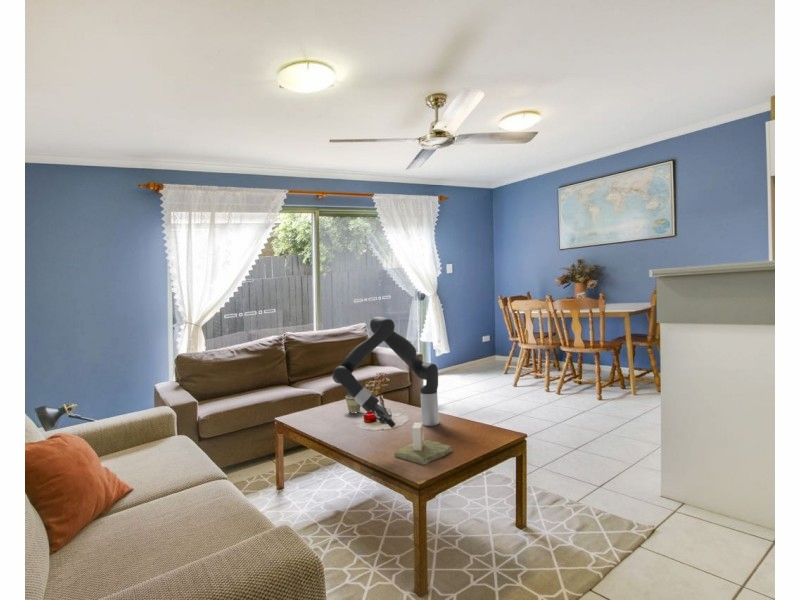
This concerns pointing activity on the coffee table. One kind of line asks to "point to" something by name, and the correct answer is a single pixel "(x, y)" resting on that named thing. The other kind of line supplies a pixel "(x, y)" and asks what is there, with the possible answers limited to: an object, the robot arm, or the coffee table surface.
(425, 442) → the decorative tile
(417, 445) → the white rectangular block
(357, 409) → the ceramic cup
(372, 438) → the coffee table surface
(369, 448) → the coffee table surface
